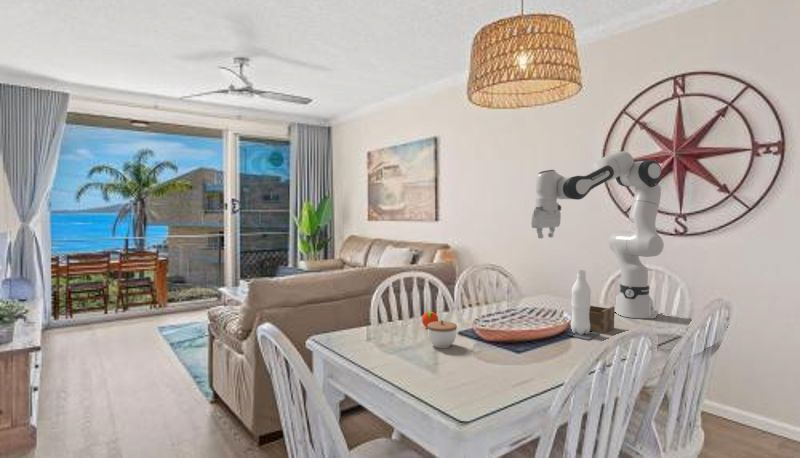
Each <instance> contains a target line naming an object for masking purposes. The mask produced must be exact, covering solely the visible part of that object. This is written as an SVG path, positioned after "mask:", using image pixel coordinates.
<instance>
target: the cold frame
mask: <svg viewBox="0 0 800 458" xmlns="http://www.w3.org/2000/svg"><path fill="white" fill-rule="evenodd" d="M614 309H616V306H610V307H601V306H595V305H590V311H589V320H590V331H592V332H595V333H600V335H603V334H606V333H607V332H610V331H611V330H613V329H615V313H614Z"/></svg>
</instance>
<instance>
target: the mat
mask: <svg viewBox="0 0 800 458" xmlns="http://www.w3.org/2000/svg"><path fill="white" fill-rule="evenodd" d="M600 335H601V333H596V332H590V331H589V333H588V334H585V333H584V334H583V335H579V334H578V333H577V334H575V335H573V336H574V337H577V338H576V339H579V338H580V339H579V340H583V341H590V340H592V339H594V338H596V337H598V336H600ZM574 337H573V338H574Z"/></svg>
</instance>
